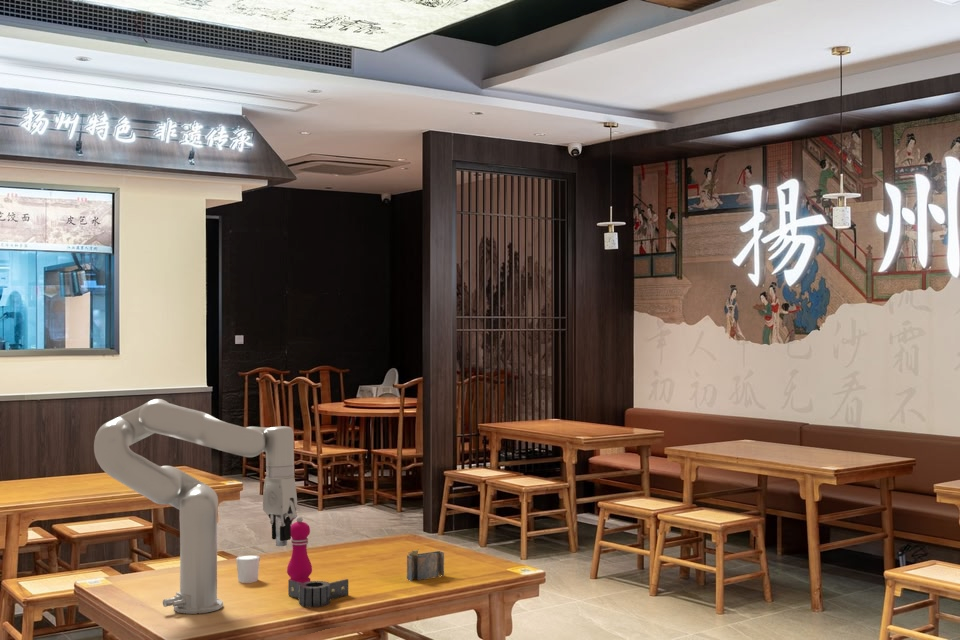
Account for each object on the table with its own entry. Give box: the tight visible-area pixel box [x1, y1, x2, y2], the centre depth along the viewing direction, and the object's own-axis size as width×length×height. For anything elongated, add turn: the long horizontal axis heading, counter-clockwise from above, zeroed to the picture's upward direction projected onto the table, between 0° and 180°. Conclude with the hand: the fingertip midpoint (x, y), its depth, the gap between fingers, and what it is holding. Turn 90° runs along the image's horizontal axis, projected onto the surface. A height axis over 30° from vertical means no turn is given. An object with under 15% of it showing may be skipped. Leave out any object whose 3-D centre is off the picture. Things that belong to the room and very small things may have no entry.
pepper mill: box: [286, 516, 313, 583], centre depth 283 cm, size 7×7×20 cm
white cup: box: [235, 554, 261, 584], centre depth 289 cm, size 7×7×7 cm
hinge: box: [287, 578, 349, 608], centre depth 269 cm, size 16×16×5 cm
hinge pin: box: [275, 513, 288, 547], centre depth 265 cm, size 3×3×10 cm
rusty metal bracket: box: [406, 548, 445, 582], centre depth 291 cm, size 11×3×10 cm, turn 123°
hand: (281, 538), depth 264 cm, fingers closed on hinge pin, 3 cm apart
